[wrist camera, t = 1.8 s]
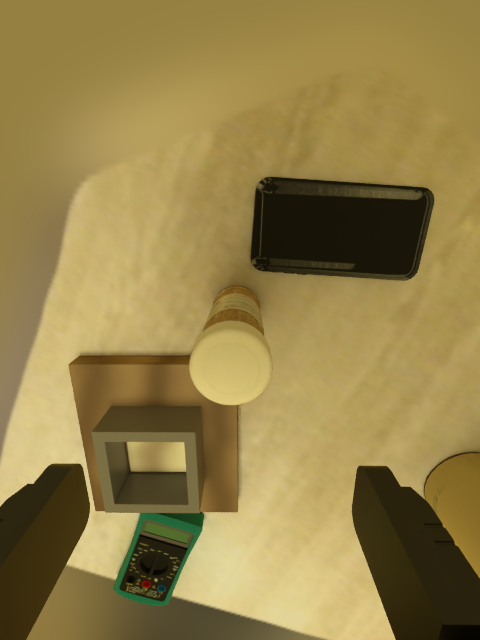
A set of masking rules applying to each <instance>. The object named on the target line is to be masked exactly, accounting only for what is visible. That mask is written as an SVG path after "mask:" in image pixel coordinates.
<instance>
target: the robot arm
mask: <svg viewBox="0 0 480 640" xmlns="http://www.w3.org/2000/svg"><path fill="white" fill-rule="evenodd" d="M425 498H426V500H425V499H423V498H422V497H421V496H420V495H419V494H418V493H417V492H416V491H414V490H413V489H412V488H411V487H401V486H400V485H399V483H398V481H397V480H396V478H395V477H394V475H393V473H392V472H391V470H390V469H389V468H388V467H387V466H359V467H358V468H357V473H356V481H355V488H354V496H353V504H352V516H353V523H354V527H355V531H356V534H357V536H358V539H359V542H360V545H361V547H362V550H363V553H364V555H365V558H366V561H367V563H368V566H369V569H370V571H371V574H372V577H373V580H374V582H375V585H376V588H377V590H378V593H379V596H380V598H381V601H382V604H383V607H384V609H385V612H386V615H387V617H388V620H389V623H390V625H391V628H392V631H393V633H394V636H395V639H396V640H480V453H468V454H462V455H458V456H455V457H452V458H450V459H448V460H446V461H445V462H443V463H442V464H440V465H439V466H438V467H437V468H436V469H435V470H434V471H433V472H432V473H431V474H430V476H429V478H428V479H427V482H426V485H425ZM89 512H90V502H89V497H88V492H87V487H86V481H85V476H84V471H83V467H82V466H81V465H80V464H51V465H49V466H48V467H47V468H46V469H45V470H44V472H43V473H42V474H41V475H40V477H39V478H38V479H37V480H36V481H35V483H34V484H27V485H26V486H24V487H23V488H22V489H20V490H19V491H18V492H16V493H15V494H14V495H12V496H11V497H10V498H8V499H7V500H6V501H5V502H4V503H3V504H2V505H1V507H0V640H26V639H27V637H28V635H29V633H30V631H31V629H32V627H33V625H34V624H35V622H36V620H37V618H38V616H39V614H40V612H41V610H42V609H43V607H44V605H45V603H46V601H47V599H48V597H49V595H50V593H51V592H52V590H53V588H54V586H55V584H56V582H57V580H58V578H59V576H60V575H61V573H62V571H63V569H64V567H65V565H66V563H67V561H68V560H69V558H70V556H71V554H72V552H73V550H74V548H75V546H76V545H77V543H78V541H79V539H80V537H81V535H82V533H83V531H84V529H85V527H86V525H87V522H88V518H89Z"/></svg>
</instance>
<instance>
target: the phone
mask: <svg viewBox="0 0 480 640" xmlns="http://www.w3.org/2000/svg"><path fill="white" fill-rule="evenodd" d="M433 205H434V195H433V193H432V192H431V191H430V190H429V189H427V188H423V187H409V186H395V185H380V184H366V183H351V182H337V181H322V180H308V179H293V178H279V177H266V178H264V179H262V180H261V181H260V182H259V184H258V185H257V188H256V193H255V206H254V219H253V233H252V246H251V262H252V264H253V266H254V267H255V268H256V269H258V270H260V271H269V272H284V273H291V274H294V273H297V274H303V275H307V274H313V275H328V276H343V277H358V278H372V279H387V280H402V281H403V280H408V279H411V278H412V277H414V276H415V274H416V273H417V271H418V268H419V264H420V260H421V256H422V252H423V247H424V243H425V239H426V235H427V230H428V226H429V222H430V218H431V213H432V209H433Z"/></svg>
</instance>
